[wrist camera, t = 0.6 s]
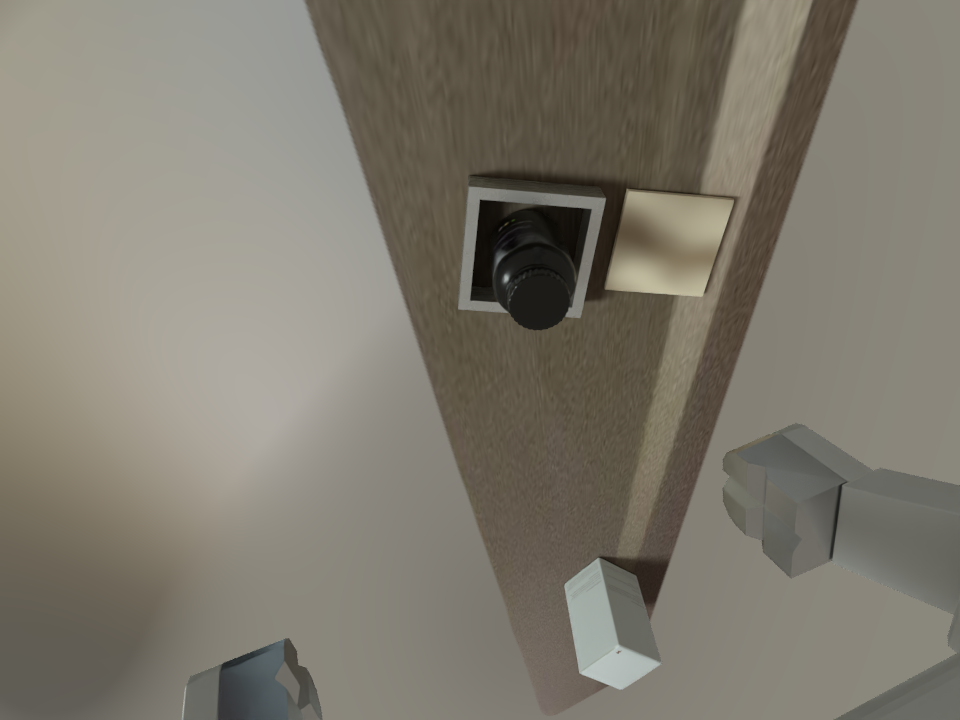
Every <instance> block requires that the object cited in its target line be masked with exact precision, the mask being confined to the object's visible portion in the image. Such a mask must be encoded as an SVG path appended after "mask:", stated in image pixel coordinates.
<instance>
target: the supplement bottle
mask: <svg viewBox="0 0 960 720" xmlns="http://www.w3.org/2000/svg"><path fill="white" fill-rule="evenodd" d="M489 254H490V264H491V274H492V283H493V290H494V294H495V296H496V299H497V301H498V302H499V304H500V305H501V306H502V307H503V308H504V309H505V310H506V311H507V312H509V313H510V314H511V317H513V318H514V321H516V322H518V324H519V325H522V326H523V327H524V328H528V329H533V330H543V329H548V328H550V327H553V326H554V325H557V324H558V323H559V322H560V321H562V319H563V318H564V317H565V316H566V313H567V312H568V308H569V307H570V300H571V297H572V295H573V293H574V290H575V286H576V272H575V268H574V265H573V262H572V259H571V257H570V254H569V252H568V249H567V246H566V244H565V241H564V238H563V236H562V233H561V231H560V229H559V227H558V226H557V224H556V223H555V222H554V221H553V220H552V219H551V218H550V217H548V216H547V215H545V214H543V213H540V212H537V211H532V210H523V211H518V212H515V213H512V214H510V215H508V216H507V217H505V218H504V219H503V220H501V221H500V222H499V223H498V225H497V226H496V227H495V229H494V230H493V232H492V235H491V238H490V243H489Z"/></svg>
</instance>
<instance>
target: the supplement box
mask: <svg viewBox="0 0 960 720" xmlns="http://www.w3.org/2000/svg"><path fill="white" fill-rule="evenodd" d="M564 586H565V592H566V598H567V604H568V609H569V615H570V621H571V626H572V632H573V638H574V643H575V649H576V655H577V660H578V666H579V673H580V674H582V675H585V676H587V677H590V678H593V679H595V680H598V681H600V682H602V683H605V684H607V685H610V686H613V687H615V688H618V689H620V690H622V689H624V688H625V687H627V686H629V685H630V684H631V683H633V682H635V681H636V680H638V679H639V678H641V677H642V676H644V675H645V674H647V673H648V672H650V671H651V670H653V669H654V668H656V667H657V666H659V665H661V664H662V662H661V659H660V656H659V652H658V649H657V646H656V642H655V639H654V635H653V632H652V628H651V625H650V621H649V618H648V614H647V611H646V608H645V604H644V601H643V597H642V594H641V590H640V587H639V583H638V580H637V576H636V575H634V574H632V573H630V572H628V571H626V570H624V569H622V568H619V567H617V566H615V565H613V564H611V563H609V562H607V561H605V560H603V559H601V558H597V559H596V560H595V561H593V562H592V563H591V564H589V565H588V566H587V567H586V568H584V569H583V570H582V571H580V572H579V573H578V574H577V575H575V576H574V577H573V578H572V579H570V580H569V581H568V582H567V583H566V584H565V585H564Z"/></svg>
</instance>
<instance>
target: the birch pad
mask: <svg viewBox="0 0 960 720" xmlns="http://www.w3.org/2000/svg"><path fill="white" fill-rule="evenodd" d="M733 203H734V199H733V198H727V197H715V196H704V195H692V194H681V193H669V192H658V191H646V190H635V189H627V190H626V194H625V198H624V203H623V207H622V211H621V216H620V220H619V224H618V229H617V233H616V237H615V242H614V246H613V250H612V255H611V259H610V263H609V268H608V272H607V276H606V281H605V285H604V288H605V290H618V291H632V292H645V293H659V294H672V295H686V296H699V297H703V294H704V291H705V288H706V285H707V282H708V279H709V276H710V272H711V269H712V266H713V263H714V260H715V257H716V254H717V251H718V248H719V245H720V242H721V239H722V236H723V233H724V230H725V227H726V224H727V221H728V218H729V215H730V212H731V209H732V206H733Z"/></svg>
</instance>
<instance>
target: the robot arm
mask: <svg viewBox="0 0 960 720" xmlns="http://www.w3.org/2000/svg"><path fill="white" fill-rule="evenodd" d="M723 471H724V472H726V473H727V474H728V475H729V478H728V480H727V481H726V483H725V485H724V487H723V502H724V505H725V507H726V510H727V512H728V515H729V516H730V518H731V519H732V521H733V522H734V523H735V525H736V526H737V527H738V528H739V529H740V530H741V531H742V532H743V533H744V534H745V535H747V536H750V537H753V538H756V539H759V540H762V546H763V552H764V553H765V554H766V555H767V556H768V557H769V558H770V559H771V560H772V561H773V562H774V563H775V564H776V565H777V566H778V567H779V568H780V569H781V570H782V571H784V572H785V573H786V574H787V575H788V576H789V577H790V578H793V577H795V576H797V575H800V574H802V573H804V572H807V571H809V570H811V569H814V568H816V567H818V566H820V565H822V564H825V563H827V562H830V561H832V563H833V564H835V565H837V566H840V567H842V568H845V569H847V570H850V571H852V572H854V573H857V574H859V575H861V576H864V577H866V578H868V579H871V580H873V581H875V582H878V583H880V584H883V585H885V586H887V587H890V588H892V589H894V590H897V591H899V592H902V593H904V594H906V595H909V596H911V597H914V598H916V599H918V600H921V601H923V602H925V603H928V604H930V605H932V606H935V607H937V608H940V609H942V610H944V611H947V612H949V613H951V614H954V617H953V620H952V623H951V627H950V630H949V633H948V646H950V647H951V648H952V649H953V650H954V651H955V652H957V654H955V655H953V656H951V657H949V658H948V659H946V660H944V661H942V662H940V663H938V664H936V665H934V666H933V667H931V668H929V669H927V670H925V671H923V672H921V673H920V674H918V675H916V676H914V677H912V678H910V679H908V680H907V681H905V682H903V683H901V684H899V685H897V686H896V687H893V688H892V689H890V690H888V691H886V692H884V693H882V694H880V695H879V696H877V697H875V698H873V699H871V700H869V701H867V702H866V703H864V704H862V705H860V706H858V707H856V708H855V709H853V710H851V711H849V712H847V713H846V714H843V715H841V716H840V717H838V718H836V719H834V720H960V485H955V484H951V483H946V482H942V481H937V480H933V479H928V478H924V477H919V476H915V475H910V474H906V473H901V472H896V471H892V470H887V469H883V468H879V469H877V470H874V471H873V470H872V469H870V468H869V467H867V466H866V465H864V464H863V463H861V462H859V461H858V460H856V459H855V458H853V457H852V456H850V455H849V454H847V453H846V452H844V451H843V450H841V449H840V448H838V447H837V446H835V445H834V444H832V443H831V442H829V441H828V440H826V439H825V438H823V437H822V436H820V435H819V434H817V433H816V432H814V431H813V430H811V429H809V428H808V427H806V426H805V425H802V424H797V423H795V424H793V425H790V426H788V427H786V428H784V429H781V430H779V431H776V432H774V433H772V434H769V435H766V436H764V437H762V438H759V439H757V440H755V441H752V442H750V443H748V444H746V445H743V446H741V447H739V448H737V449H734V450H732V451H729V452H727V453H726V455H725V456H724V458H723ZM182 720H322V712H321V706H320V702H319V699H318V694H317V690H316V688H315V685H314V683H313V680H312V677H311V675H310V674H309V672H308V670H307V668H305V667H302V666H299V665H298V659H297V651H296V649H295V647H294V646H293V644H292V643H291V641H290V639H283V640H281V641H278V642H275V643H273V644H270V645H268V646H265V647H263V648H260V649H258V650H255V651H252V652H250V653H247V654H245V655H242V656H240V657H237V658H234V659H232V660H229V661H227V662H224V663H223V664H221V665H218V666H215V667H213V668H210V669H208V670H205V671H203V672H200V673H198V674H195V675H193V676H190V678H189V680H188V683H187V685H186V687H185V694H184V704H183V714H182Z"/></svg>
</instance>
